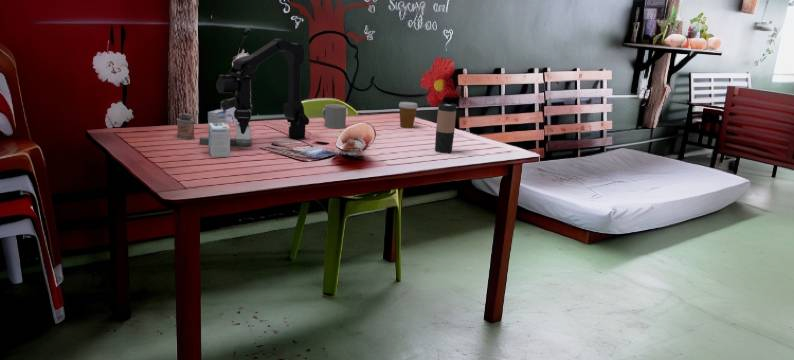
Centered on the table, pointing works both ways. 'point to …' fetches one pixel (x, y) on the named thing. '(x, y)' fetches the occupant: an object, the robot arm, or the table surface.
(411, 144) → the table surface
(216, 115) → the medicine box
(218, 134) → the light bulb box
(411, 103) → the disposable coffee cup
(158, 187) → the table surface
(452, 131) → the travel mug
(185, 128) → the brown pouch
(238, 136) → the socket
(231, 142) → the ratchet
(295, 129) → the robot arm
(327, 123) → the coffee mug
